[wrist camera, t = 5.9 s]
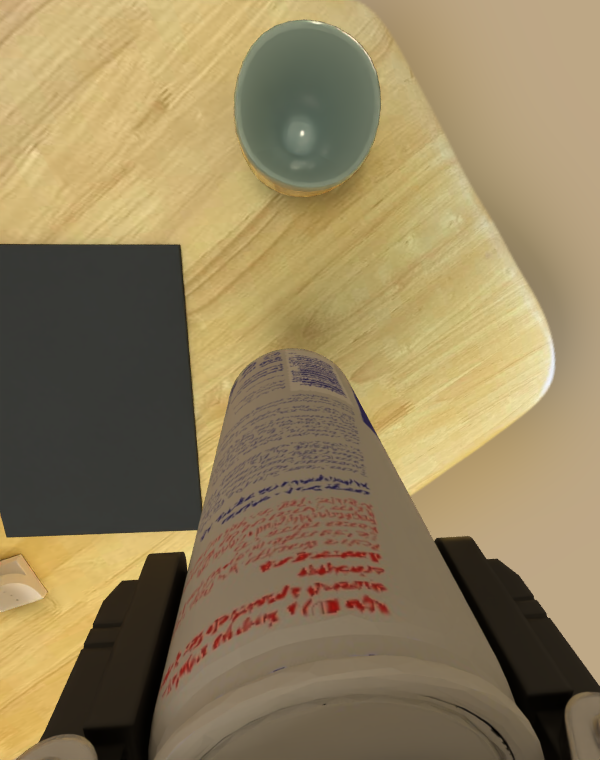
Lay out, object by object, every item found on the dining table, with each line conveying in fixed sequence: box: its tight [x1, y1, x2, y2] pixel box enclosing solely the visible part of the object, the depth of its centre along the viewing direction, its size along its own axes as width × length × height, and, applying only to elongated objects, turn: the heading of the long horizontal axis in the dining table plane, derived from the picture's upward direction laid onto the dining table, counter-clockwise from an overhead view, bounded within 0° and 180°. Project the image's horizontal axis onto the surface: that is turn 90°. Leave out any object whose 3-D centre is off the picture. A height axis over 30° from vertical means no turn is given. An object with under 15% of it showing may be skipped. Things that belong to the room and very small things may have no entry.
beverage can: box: [148, 348, 544, 760], centre depth 13 cm, size 6×6×15 cm
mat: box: [0, 244, 202, 537], centre depth 37 cm, size 26×18×1 cm
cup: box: [234, 20, 381, 197], centre depth 27 cm, size 8×8×10 cm
